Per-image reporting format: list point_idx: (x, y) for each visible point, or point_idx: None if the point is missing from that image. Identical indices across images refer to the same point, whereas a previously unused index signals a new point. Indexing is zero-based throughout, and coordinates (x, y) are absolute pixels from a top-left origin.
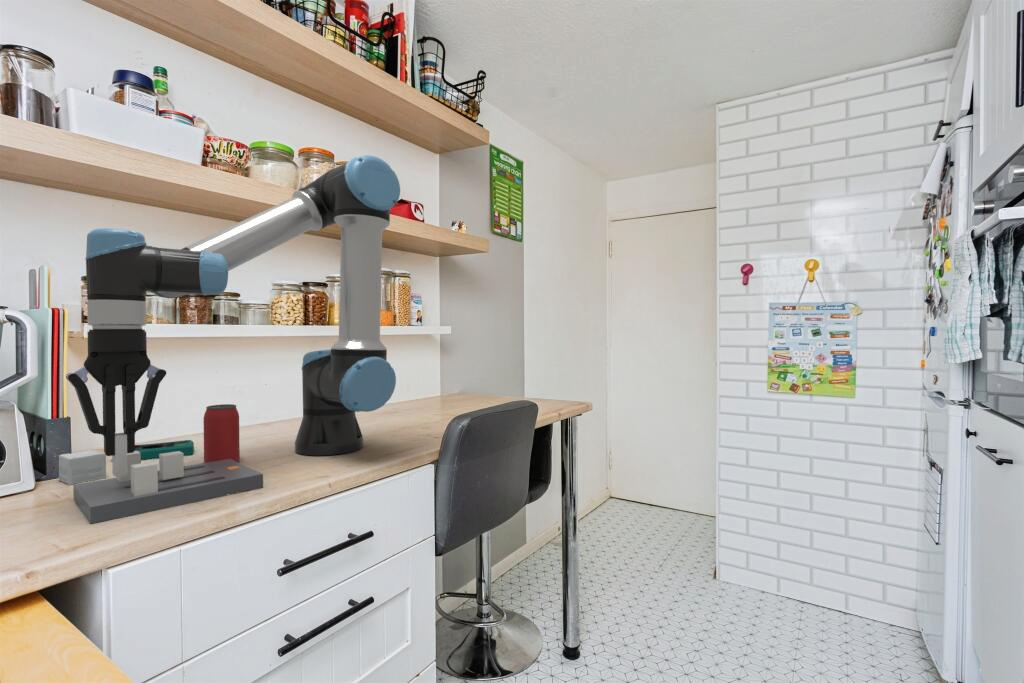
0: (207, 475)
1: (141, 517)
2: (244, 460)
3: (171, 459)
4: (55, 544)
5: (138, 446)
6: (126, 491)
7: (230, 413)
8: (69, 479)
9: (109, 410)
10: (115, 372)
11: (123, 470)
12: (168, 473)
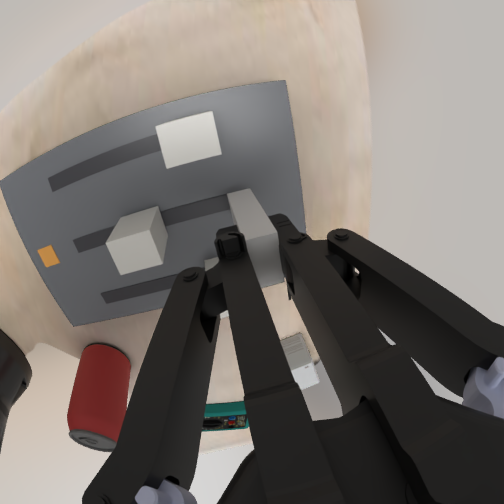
0: (81, 220)
1: (197, 71)
2: (78, 356)
3: (133, 229)
4: (314, 18)
5: (227, 426)
6: (225, 165)
7: (72, 420)
8: (303, 339)
9: (333, 289)
10: (418, 470)
11: (236, 196)
12: (145, 213)
